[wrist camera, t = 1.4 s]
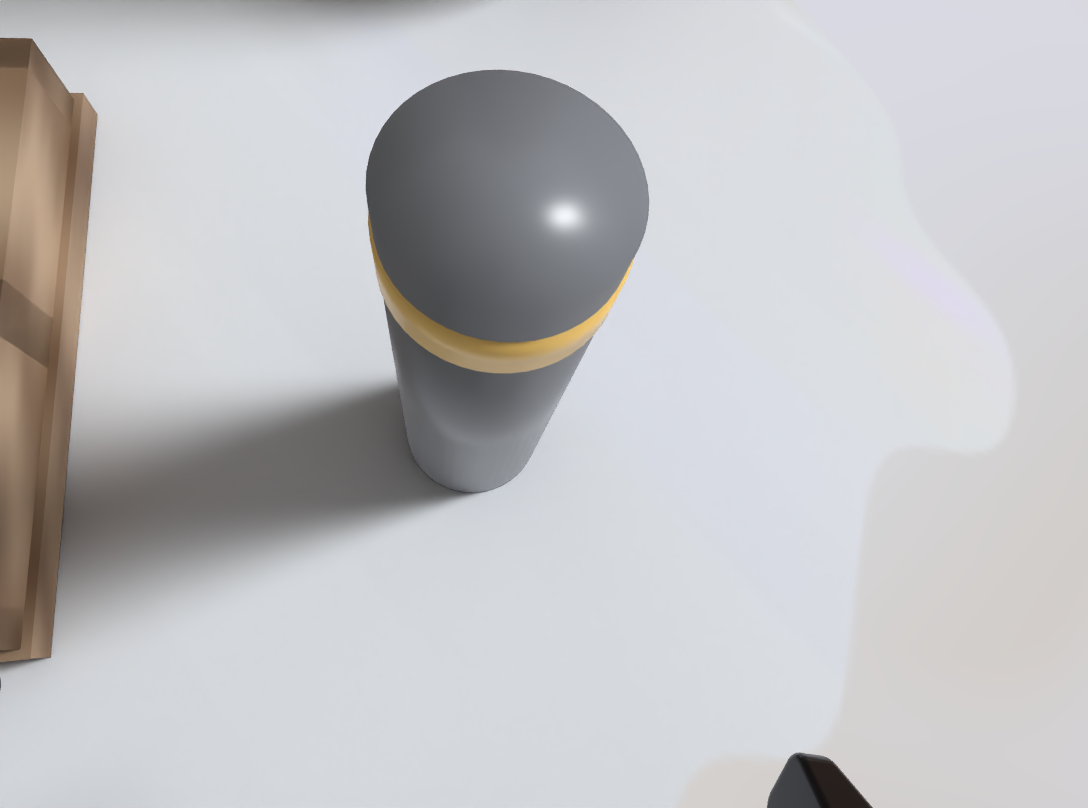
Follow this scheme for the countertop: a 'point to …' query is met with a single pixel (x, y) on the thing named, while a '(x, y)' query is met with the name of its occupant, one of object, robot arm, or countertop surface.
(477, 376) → the plug charcoal
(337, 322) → the countertop surface
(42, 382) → the slot rack
